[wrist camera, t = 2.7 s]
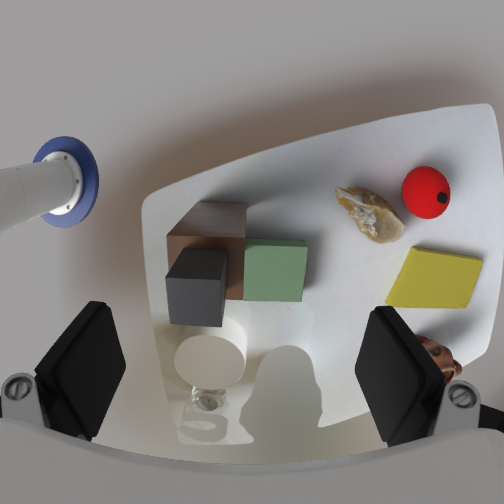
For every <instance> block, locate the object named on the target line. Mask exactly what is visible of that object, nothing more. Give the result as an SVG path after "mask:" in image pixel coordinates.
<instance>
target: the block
mask: <svg viewBox="0 0 504 504" xmlns="http://www.w3.org/2000/svg"><path fill="white" fill-rule="evenodd" d="M165 281H166V291H167V301H168V310H169V318H170V324H178V325H191V326H207V327H222V321H223V314H224V307H225V300H226V293H227V249H201V248H183V249H182V251H181V253H180V254H179V256H178V257H177V259H176V261H175V262H174V264H173V265H172V267H171V269H170V270H169V272H168V274H167V275H166V277H165Z"/></svg>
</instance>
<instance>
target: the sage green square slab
mask: <svg viewBox="0 0 504 504" xmlns="http://www.w3.org/2000/svg"><path fill="white" fill-rule="evenodd" d="M307 254H308V246H307V244H306V243H305V241H304V240H282V239H257V238H246V239H245V267H244V296H243V300H244V301H282V302H301V301H302V294H303V286H304V279H305V271H306V263H307Z"/></svg>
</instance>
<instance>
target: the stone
mask: <svg viewBox="0 0 504 504" xmlns="http://www.w3.org/2000/svg"><path fill="white" fill-rule="evenodd" d="M336 197H337V200H338V203H340V204H342V205H343V206H344V207H345V208H346V209H347V210H348V211H349V214H350V216H351V218H352V219H353V220H354V221H355V222H356V223H357V224H358V228H359V230H360V231H361V232H363V233H364V234H366V235H367V237H368V238H369V239H371V240H373V241H374V242H376V243H379V244H382V243H388V242H394V241H397V240H398V239H399V238H400V237H401V236H402V235H403V234H404V232H405V225H404V223H403V221H402V220H401V218H400V217H399V216H398V214H397V213H396V211H395V210H394V209H393V207H392V206H391V205H390V204H388V203H387V201H386V200H384V199H383V198H382V197H380V196H379V195H377V194H375V193H374V192H372V191H370V190H368V189H366V188H363V187H348V188H347V189H343V188H340V187H336Z"/></svg>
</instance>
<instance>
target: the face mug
mask: <svg viewBox="0 0 504 504" xmlns="http://www.w3.org/2000/svg"><path fill="white" fill-rule="evenodd" d="M416 337H417V338H418V340H419V341H420V342H421V344H422V345H423V346H424V348H425V349H426V350H427V352H428V353H429V354H430V356H431V357H432V358H433V360H434V361H435V362H436V364H437V365H438V367H439V368H440V369H441V371H442V372H443V374H444V375H445V376H446V378H445V380H444V382H445V383H446V385H447V384H448V383H449V382H451V381H453V379H454V377H456V376H458V375H459V374H461V372H462V367H461V365H460V364H459V363H458V362H457V361H456V360H454V359H453V356H452V353H451V351H450V350H449V349H448V348H446V347H444V346H442V345H440V344H438V343H436V342H434V341H432V340H429V339H427V338H426V337H423V336H416ZM455 367H456V368H455Z"/></svg>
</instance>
